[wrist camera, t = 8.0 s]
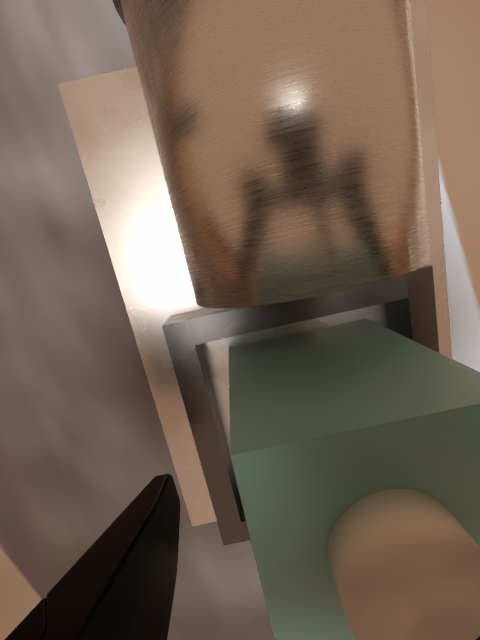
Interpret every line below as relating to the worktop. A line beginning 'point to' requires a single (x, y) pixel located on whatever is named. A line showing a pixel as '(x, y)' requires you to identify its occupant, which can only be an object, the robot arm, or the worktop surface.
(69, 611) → the robot arm
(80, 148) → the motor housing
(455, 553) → the green block with knob
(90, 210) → the worktop surface
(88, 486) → the worktop surface
